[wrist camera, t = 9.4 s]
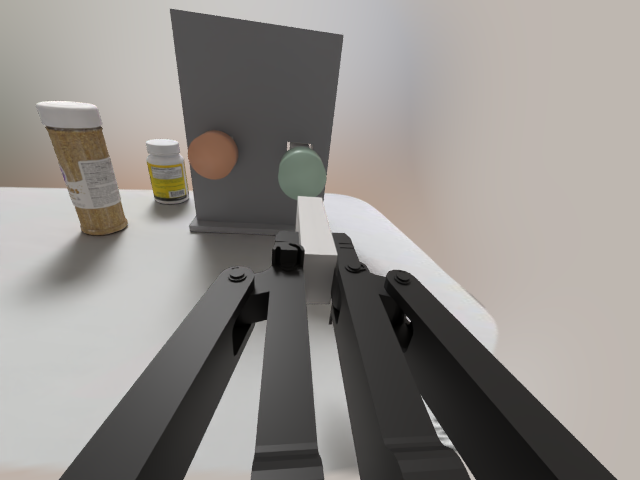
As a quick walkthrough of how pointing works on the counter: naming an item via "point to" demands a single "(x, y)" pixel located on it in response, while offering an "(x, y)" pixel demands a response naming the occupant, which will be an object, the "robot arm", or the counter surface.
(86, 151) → the spice jar
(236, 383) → the counter surface
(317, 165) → the sage button
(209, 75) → the button panel
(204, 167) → the rust button
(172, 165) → the supplement bottle
